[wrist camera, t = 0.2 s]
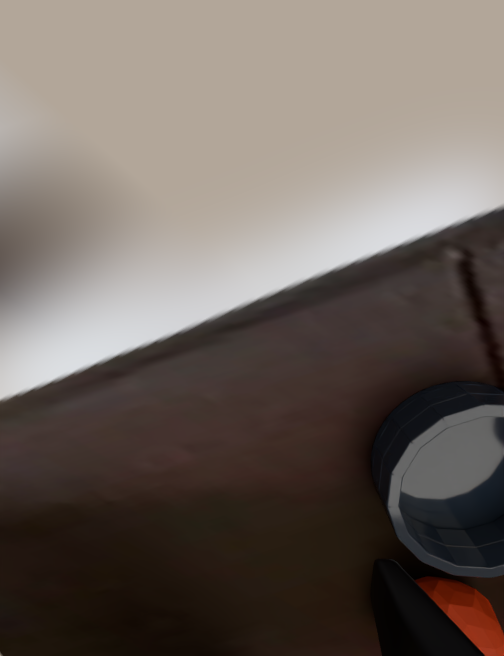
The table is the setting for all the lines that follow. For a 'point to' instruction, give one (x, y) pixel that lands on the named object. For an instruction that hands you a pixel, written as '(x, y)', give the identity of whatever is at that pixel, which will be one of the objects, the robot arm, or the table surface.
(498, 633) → the pumpkin
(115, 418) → the table surface
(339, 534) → the table surface
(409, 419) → the blue round dish
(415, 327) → the table surface
